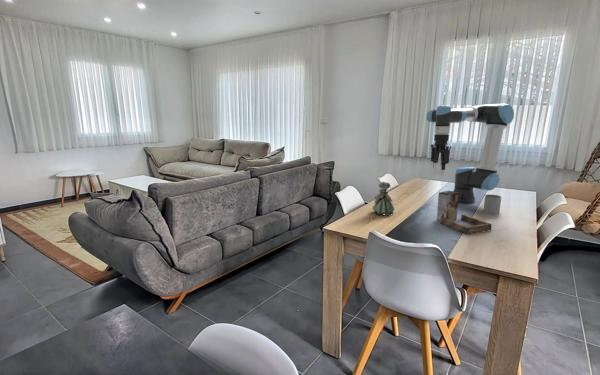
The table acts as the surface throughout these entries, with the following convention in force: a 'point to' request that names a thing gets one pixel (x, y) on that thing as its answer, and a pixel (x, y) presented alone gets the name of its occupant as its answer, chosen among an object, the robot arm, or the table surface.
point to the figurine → (383, 200)
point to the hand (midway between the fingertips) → (438, 174)
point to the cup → (492, 204)
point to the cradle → (466, 224)
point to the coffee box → (447, 205)
